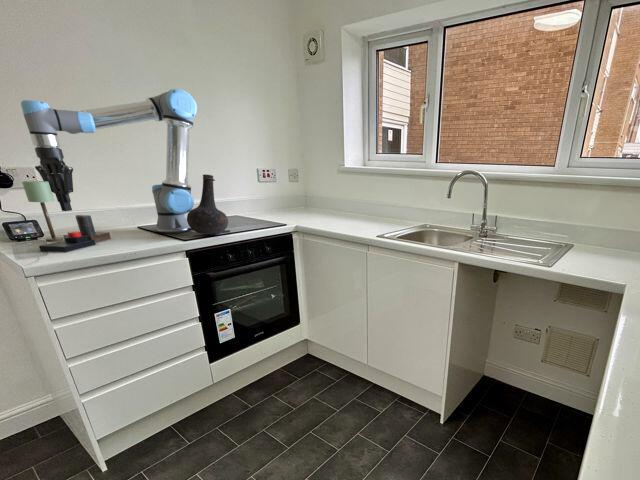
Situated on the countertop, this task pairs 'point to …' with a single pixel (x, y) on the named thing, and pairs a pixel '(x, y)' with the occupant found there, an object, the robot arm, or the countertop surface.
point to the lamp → (41, 201)
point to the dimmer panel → (98, 236)
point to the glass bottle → (207, 212)
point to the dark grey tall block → (85, 225)
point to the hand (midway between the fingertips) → (67, 210)
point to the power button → (74, 234)
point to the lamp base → (68, 244)
